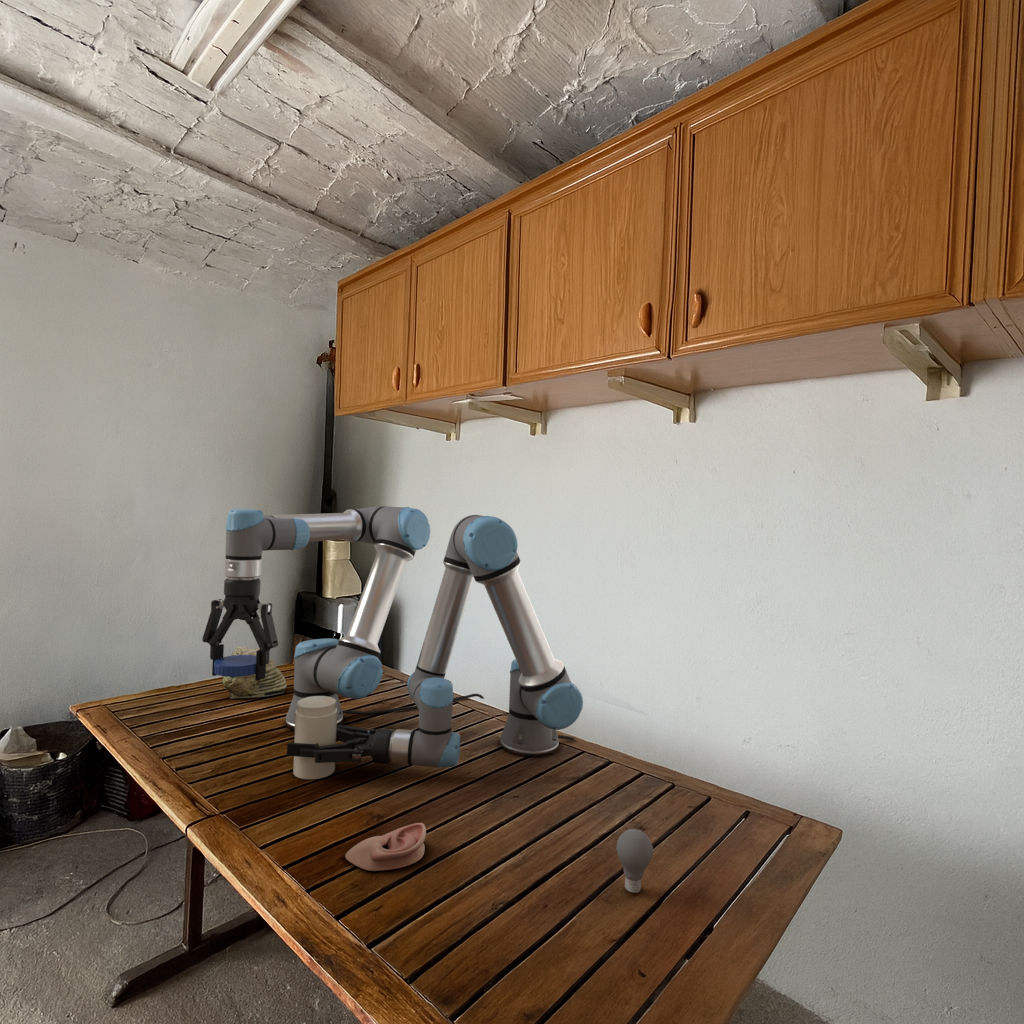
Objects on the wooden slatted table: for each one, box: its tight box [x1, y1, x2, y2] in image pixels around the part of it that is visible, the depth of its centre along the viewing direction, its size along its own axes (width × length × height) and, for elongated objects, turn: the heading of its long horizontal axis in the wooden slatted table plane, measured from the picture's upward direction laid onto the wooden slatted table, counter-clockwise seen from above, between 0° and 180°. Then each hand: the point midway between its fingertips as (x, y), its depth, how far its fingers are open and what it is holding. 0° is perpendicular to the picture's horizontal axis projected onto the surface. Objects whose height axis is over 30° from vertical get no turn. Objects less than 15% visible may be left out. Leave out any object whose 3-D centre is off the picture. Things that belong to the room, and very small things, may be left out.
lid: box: [214, 655, 256, 677], centre depth 142 cm, size 10×10×2 cm
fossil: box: [222, 646, 288, 699], centre depth 198 cm, size 9×18×15 cm, turn 132°
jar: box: [292, 696, 338, 780], centre depth 146 cm, size 9×9×16 cm
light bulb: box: [615, 828, 654, 894], centre depth 106 cm, size 6×6×10 cm
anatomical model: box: [344, 822, 427, 872], centre depth 113 cm, size 13×4×12 cm
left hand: (238, 676), depth 142 cm, fingers closed on lid, 10 cm apart
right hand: (296, 740), depth 146 cm, fingers closed on jar, 9 cm apart
